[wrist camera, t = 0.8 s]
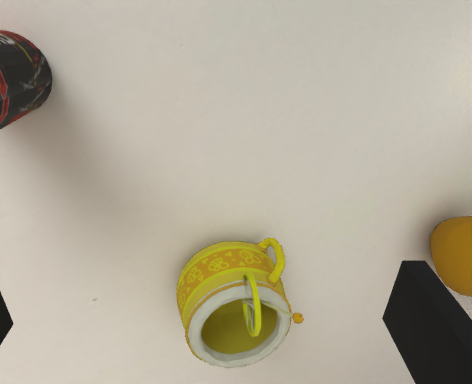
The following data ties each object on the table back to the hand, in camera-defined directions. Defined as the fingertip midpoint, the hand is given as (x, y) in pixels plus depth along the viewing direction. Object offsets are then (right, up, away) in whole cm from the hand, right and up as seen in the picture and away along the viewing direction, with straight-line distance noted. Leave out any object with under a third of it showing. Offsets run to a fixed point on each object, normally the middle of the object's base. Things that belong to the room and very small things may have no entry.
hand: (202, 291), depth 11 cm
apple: (+26, -2, +31) cm, 40 cm away
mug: (+1, -5, +26) cm, 27 cm away
